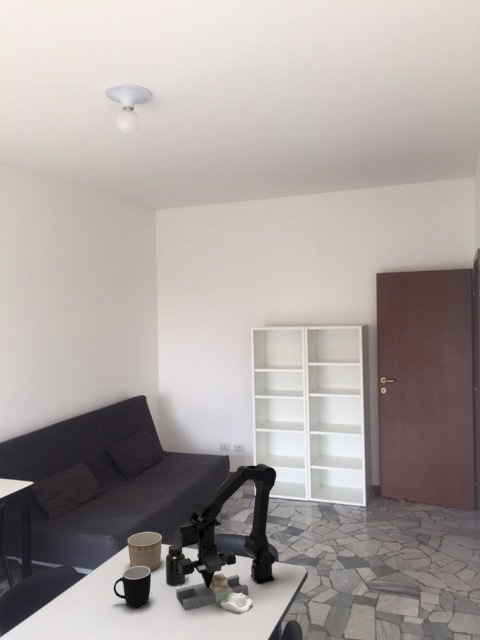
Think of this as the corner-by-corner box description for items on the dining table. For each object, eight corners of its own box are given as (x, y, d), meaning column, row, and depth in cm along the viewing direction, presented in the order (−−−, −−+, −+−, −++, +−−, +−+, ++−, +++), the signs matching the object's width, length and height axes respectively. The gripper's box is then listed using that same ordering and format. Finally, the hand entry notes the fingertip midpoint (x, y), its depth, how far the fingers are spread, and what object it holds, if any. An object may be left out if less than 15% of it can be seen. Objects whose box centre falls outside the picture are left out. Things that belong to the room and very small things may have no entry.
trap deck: (237, 582, 184) (237, 574, 184) (248, 594, 176) (247, 586, 176) (176, 597, 176) (176, 589, 176) (184, 610, 167) (184, 602, 167)
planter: (159, 574, 192) (158, 545, 192) (124, 574, 192) (124, 546, 192) (165, 558, 204) (164, 531, 204) (132, 559, 205) (131, 532, 205)
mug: (152, 595, 177) (151, 565, 177) (150, 609, 168) (149, 578, 168) (116, 597, 176) (115, 567, 176) (111, 612, 167) (110, 580, 167)
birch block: (222, 582, 180) (222, 573, 180) (227, 588, 176) (227, 579, 176) (210, 585, 178) (209, 576, 178) (214, 591, 174) (214, 582, 174)
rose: (222, 602, 164) (218, 587, 173) (222, 617, 164) (218, 600, 173) (254, 598, 165) (248, 583, 175) (254, 612, 165) (248, 597, 175)
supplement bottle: (182, 586, 182) (181, 551, 182) (163, 585, 184) (162, 550, 184) (188, 577, 189) (187, 543, 189) (170, 575, 190) (169, 542, 190)
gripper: (187, 555, 164) (188, 606, 164) (242, 544, 172) (243, 592, 172) (176, 542, 174) (177, 589, 174) (229, 531, 182) (230, 577, 182)
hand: (207, 587), depth 175 cm, fingers closed
